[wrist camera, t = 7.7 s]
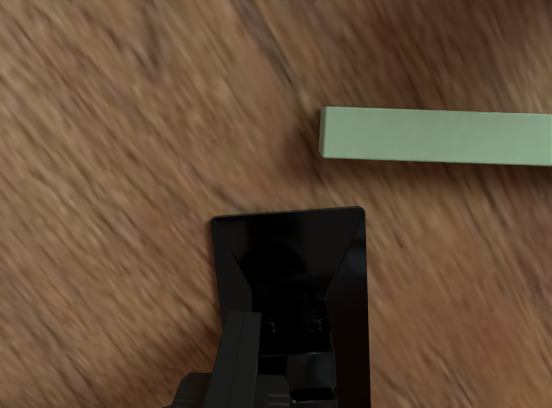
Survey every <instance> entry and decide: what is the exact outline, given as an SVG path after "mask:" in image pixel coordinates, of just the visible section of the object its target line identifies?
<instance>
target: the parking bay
mask: <svg viewBox="0 0 552 408" xmlns="http://www.w3.org/2000/svg"><path fill="white" fill-rule="evenodd" d="M319 153H320V154H321V156H322V157H323V158H336V159H364V160H392V161H420V162H448V163H476V164H504V165H532V166H552V114H532V113H503V112H474V111H445V110H416V109H387V108H358V107H329V106H327V107H322V108H321V118H320V135H319Z"/></svg>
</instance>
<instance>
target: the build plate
mask: <svg viewBox="0 0 552 408" xmlns="http://www.w3.org/2000/svg"><path fill="white" fill-rule="evenodd" d="M211 232H212V241H213V250H214V258H215V267H216V276H217V284H218V293H219V302H220V310H221V319H222V328H223V330H224V326H225V322H226V319H227V315H228V311H232V312H255V313H261V324H260V335H259V351H258V363H259V374H261V375H283V376H284V377H285V379H286V381H287V382H288V384H289V398H290V408H371V396H370V361H369V327H368V293H367V259H366V225H365V211H364V209H363V208H362V207H360V206H352V207H338V208H324V209H309V210H295V211H280V212H266V213H252V214H237V215H223V216H215V217H213V218H212V220H211Z"/></svg>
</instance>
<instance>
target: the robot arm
mask: <svg viewBox="0 0 552 408" xmlns="http://www.w3.org/2000/svg"><path fill="white" fill-rule="evenodd" d="M260 324H261V313H255V312H232V311H228V315H227V319H226V322H225V326H224V330H223V334H222V337H221V341H220V345H219V349H218V352H217V356H216V360H215V364H214V367H213V371H212V373H194V372H189V373H188V374H187V375H186V376H185V377H184V378H183V379H182V380H181V381H180V384H179V386H178V389H177V392H176V394H175V397H174V399H173V402H172V405H169V406H166V407H163V408H290V398H289V384H288V382H287V381H286V379H285V377H284V376H283V375H261V374H259V363H258V351H259V335H260Z"/></svg>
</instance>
